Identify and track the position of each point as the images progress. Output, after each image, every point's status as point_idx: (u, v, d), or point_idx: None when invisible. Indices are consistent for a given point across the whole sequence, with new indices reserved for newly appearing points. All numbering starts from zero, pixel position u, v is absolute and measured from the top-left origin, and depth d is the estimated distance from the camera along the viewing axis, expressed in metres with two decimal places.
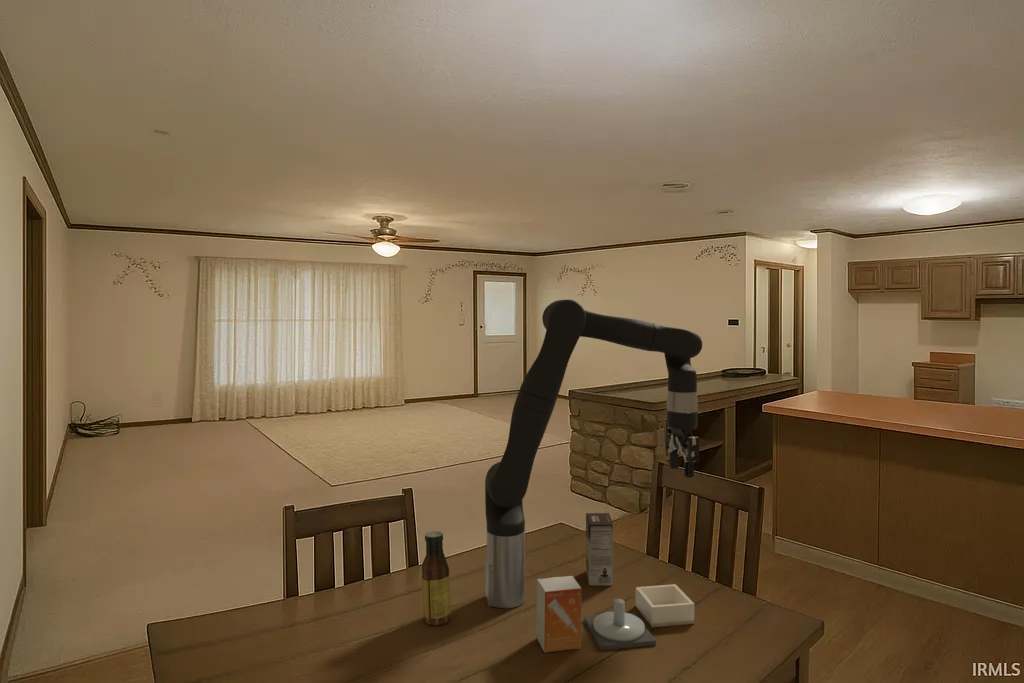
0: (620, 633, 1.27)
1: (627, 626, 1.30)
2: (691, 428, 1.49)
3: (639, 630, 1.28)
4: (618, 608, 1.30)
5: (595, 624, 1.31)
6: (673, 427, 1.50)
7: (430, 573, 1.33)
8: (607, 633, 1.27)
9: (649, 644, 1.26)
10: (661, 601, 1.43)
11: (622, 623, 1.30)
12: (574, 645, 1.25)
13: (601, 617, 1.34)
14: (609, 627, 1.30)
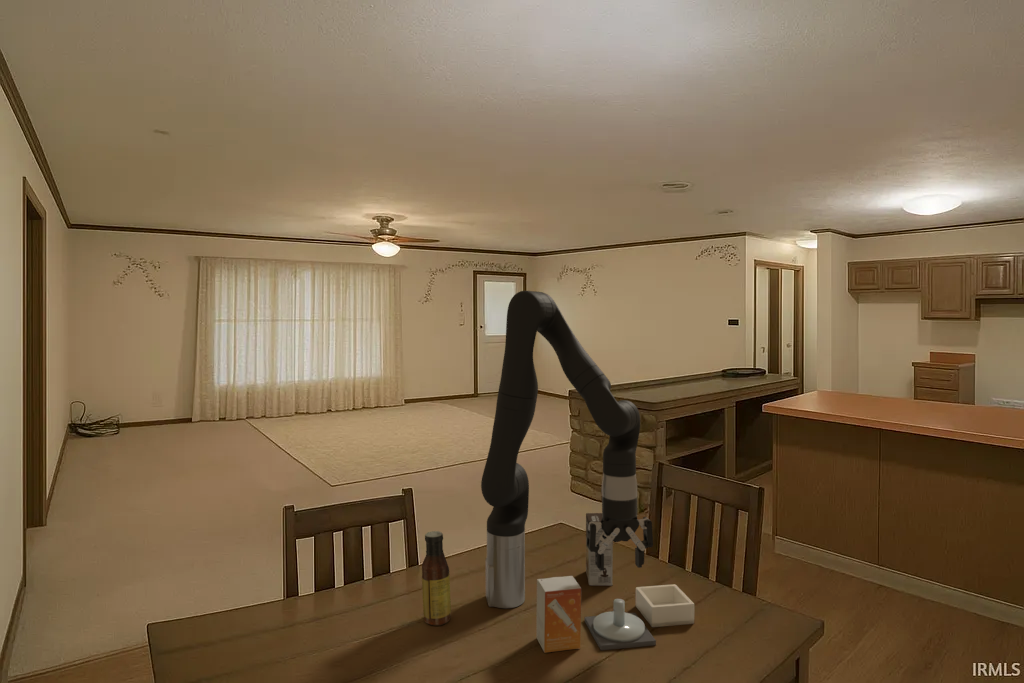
0: (620, 633, 1.27)
1: (627, 626, 1.30)
2: None
3: (639, 630, 1.28)
4: (618, 608, 1.30)
5: (595, 624, 1.31)
6: (633, 517, 1.27)
7: (430, 573, 1.33)
8: (607, 633, 1.27)
9: (649, 644, 1.26)
10: (661, 601, 1.43)
11: (622, 623, 1.30)
12: (574, 645, 1.25)
13: (601, 617, 1.34)
14: (609, 627, 1.29)
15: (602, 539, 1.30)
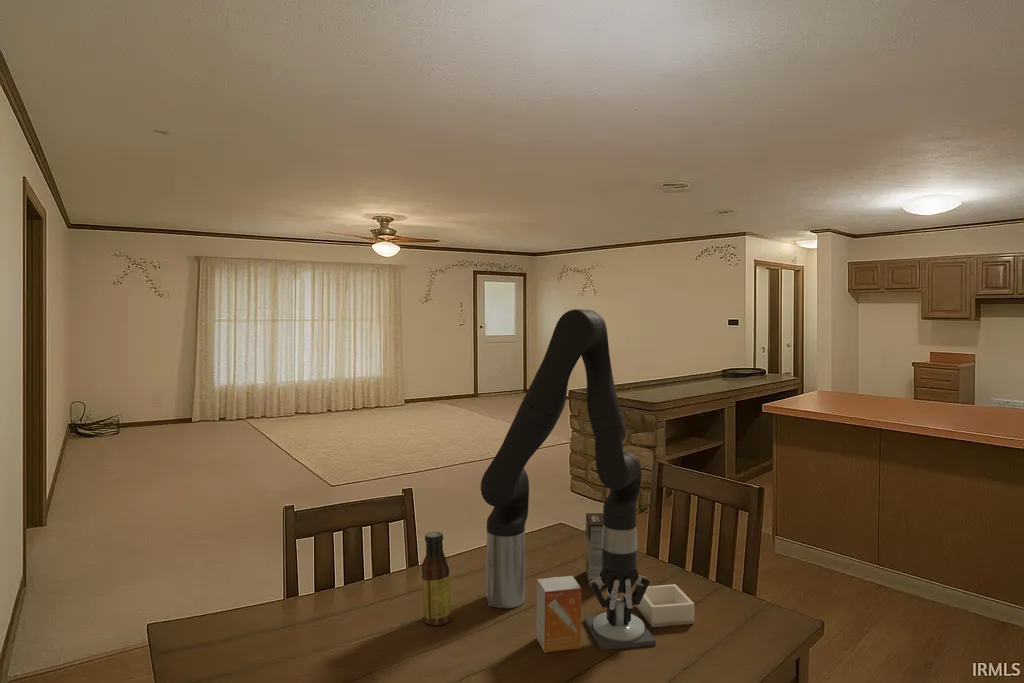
0: (620, 633, 1.27)
1: (627, 626, 1.30)
2: None
3: (639, 630, 1.28)
4: (618, 608, 1.30)
5: (595, 624, 1.31)
6: (633, 570, 1.28)
7: (430, 573, 1.33)
8: (607, 633, 1.27)
9: (649, 644, 1.26)
10: (661, 601, 1.43)
11: (622, 623, 1.30)
12: (574, 645, 1.25)
13: (601, 617, 1.34)
14: (609, 627, 1.29)
15: (608, 594, 1.30)
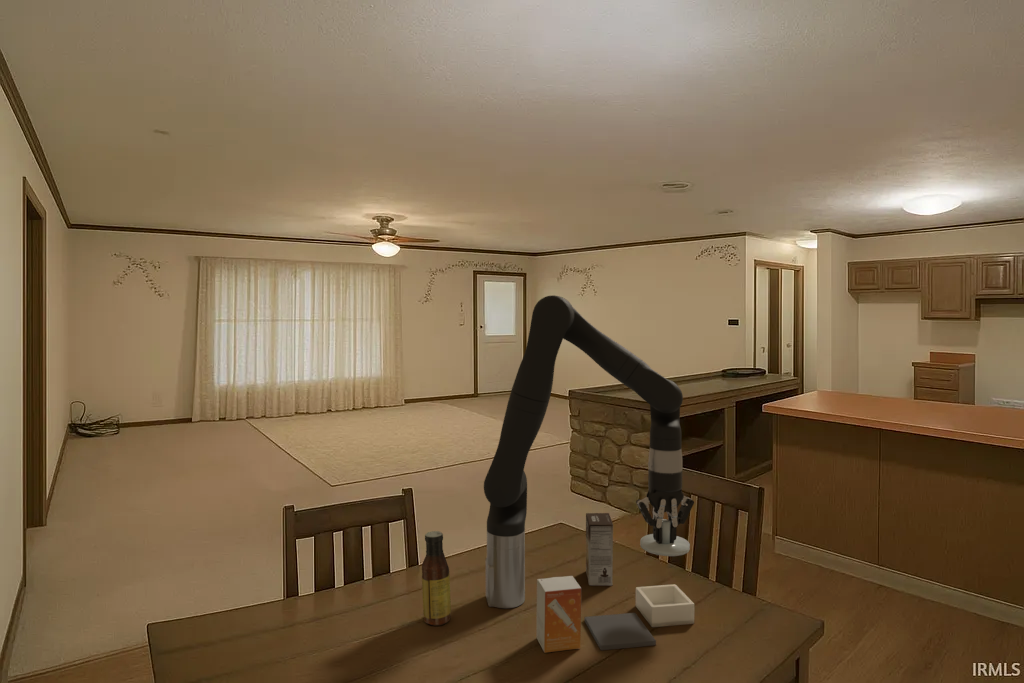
0: (667, 549, 1.34)
1: (673, 544, 1.37)
2: None
3: (685, 546, 1.35)
4: (664, 527, 1.37)
5: (642, 542, 1.38)
6: (679, 489, 1.35)
7: (430, 573, 1.33)
8: (655, 549, 1.34)
9: (649, 644, 1.26)
10: (661, 601, 1.43)
11: (668, 541, 1.37)
12: (574, 645, 1.25)
13: (647, 537, 1.41)
14: (656, 545, 1.37)
15: (655, 514, 1.38)
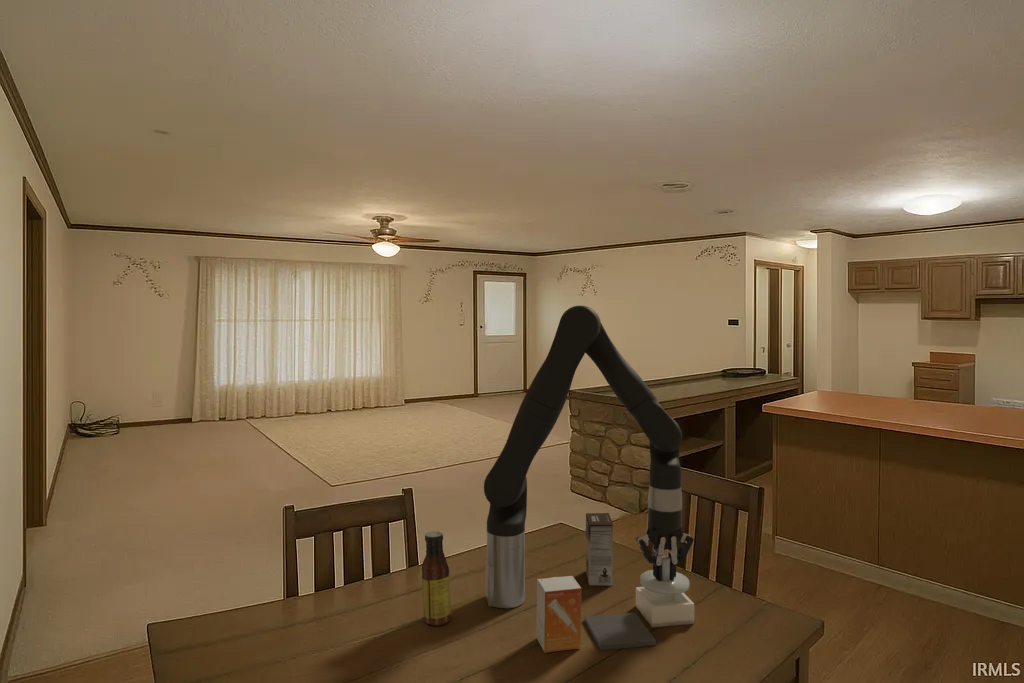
0: (667, 587, 1.35)
1: (672, 581, 1.38)
2: None
3: (685, 584, 1.36)
4: (664, 564, 1.37)
5: (642, 580, 1.39)
6: (678, 527, 1.36)
7: (430, 573, 1.33)
8: (655, 587, 1.35)
9: (649, 644, 1.26)
10: (661, 601, 1.43)
11: (668, 578, 1.38)
12: (574, 645, 1.25)
13: (647, 574, 1.42)
14: (656, 582, 1.37)
15: (655, 551, 1.38)
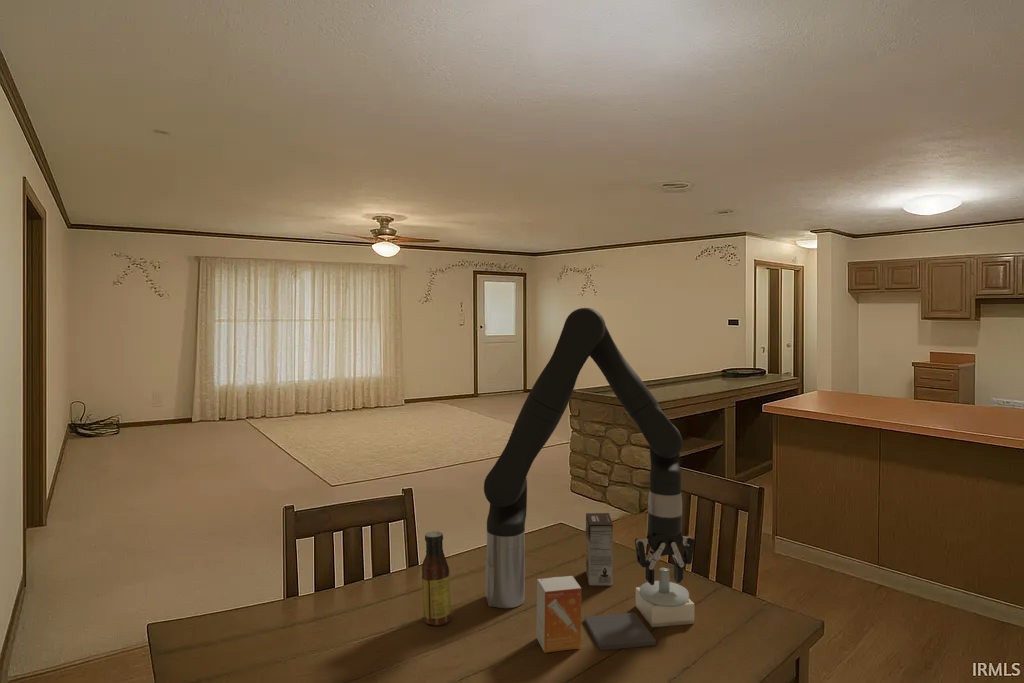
0: (667, 599, 1.35)
1: (672, 593, 1.38)
2: None
3: (684, 596, 1.36)
4: (664, 576, 1.38)
5: (642, 591, 1.39)
6: (678, 533, 1.36)
7: (430, 573, 1.33)
8: (654, 599, 1.35)
9: (649, 644, 1.26)
10: None
11: (667, 590, 1.38)
12: (574, 645, 1.25)
13: (646, 585, 1.42)
14: (655, 594, 1.37)
15: (651, 555, 1.38)
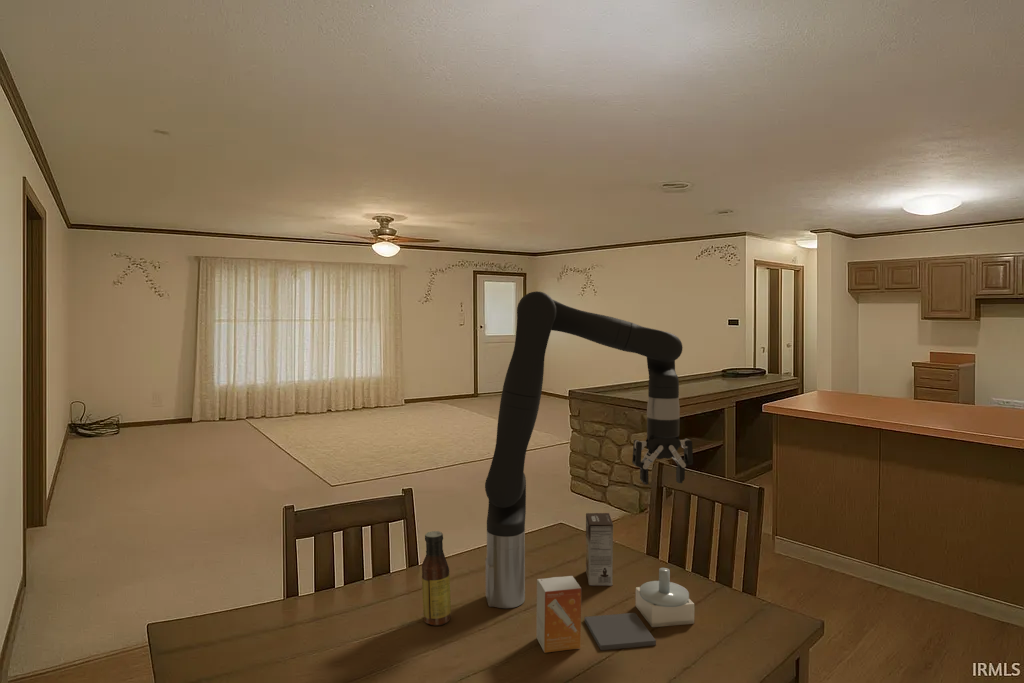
0: (667, 599, 1.35)
1: (672, 593, 1.38)
2: None
3: (684, 596, 1.36)
4: (664, 576, 1.38)
5: (642, 591, 1.39)
6: (676, 435, 1.41)
7: (430, 573, 1.33)
8: (654, 599, 1.35)
9: (649, 644, 1.26)
10: None
11: (667, 590, 1.38)
12: (574, 645, 1.25)
13: (646, 585, 1.42)
14: (655, 594, 1.37)
15: (647, 456, 1.43)
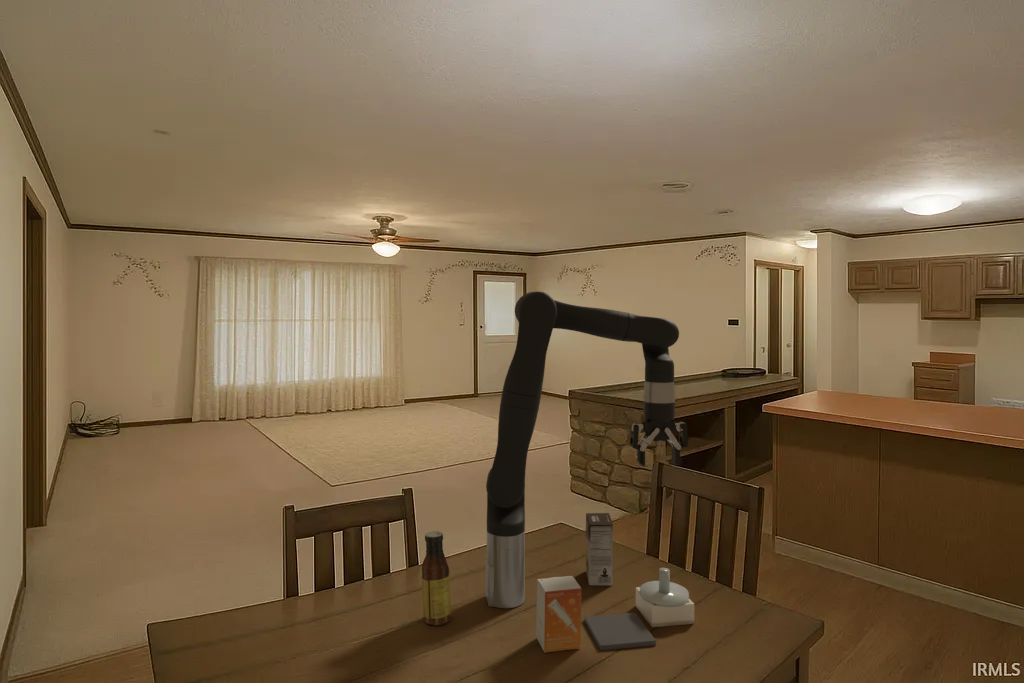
0: (667, 599, 1.35)
1: (672, 593, 1.38)
2: None
3: (684, 596, 1.36)
4: (664, 576, 1.38)
5: (642, 591, 1.39)
6: (671, 418, 1.46)
7: (430, 573, 1.33)
8: (654, 599, 1.35)
9: (649, 644, 1.26)
10: None
11: (667, 590, 1.38)
12: (574, 645, 1.25)
13: (646, 585, 1.42)
14: (655, 594, 1.37)
15: (643, 439, 1.48)
